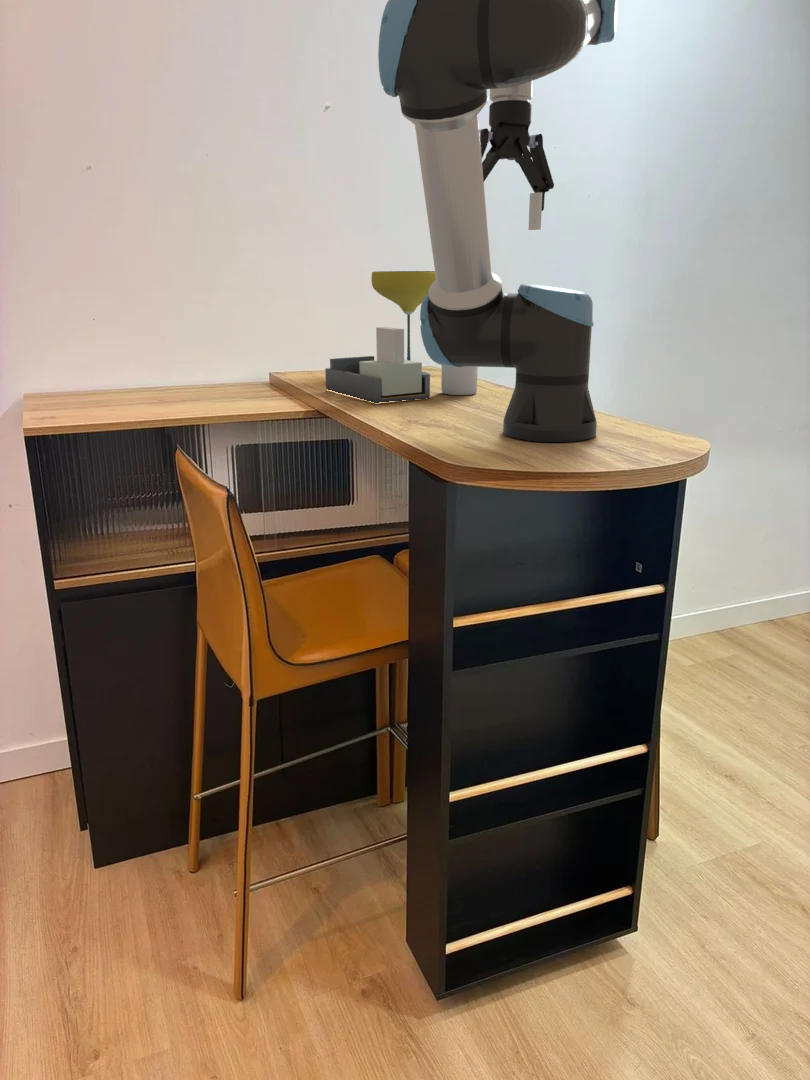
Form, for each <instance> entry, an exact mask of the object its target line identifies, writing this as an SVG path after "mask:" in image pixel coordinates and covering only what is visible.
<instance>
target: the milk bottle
mask: <svg viewBox="0 0 810 1080" xmlns="http://www.w3.org/2000/svg"><path fill="white" fill-rule="evenodd" d="M478 368H479V367H475V366H463V367H455V366H452V365H441V375H440V376H441V377H440V378H441V383H440V385H441V387H440V388H441V393H442V394H443V395H447V394H448V395H449V396H469V395H475V394H477V392H478Z"/></svg>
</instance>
